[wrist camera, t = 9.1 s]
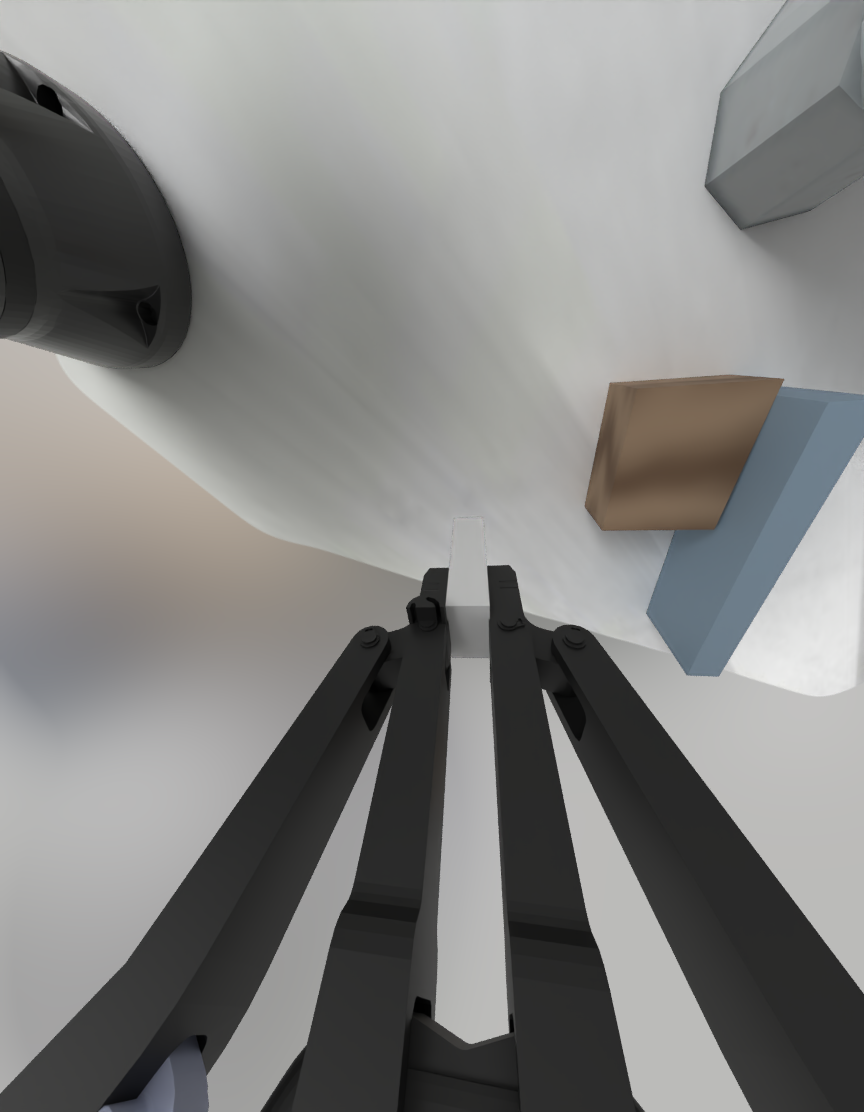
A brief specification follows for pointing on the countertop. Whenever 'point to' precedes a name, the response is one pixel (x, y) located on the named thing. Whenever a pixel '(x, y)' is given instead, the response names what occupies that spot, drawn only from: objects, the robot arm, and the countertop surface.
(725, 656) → the slate board
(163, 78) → the countertop surface
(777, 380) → the walnut block
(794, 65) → the coffee maker
